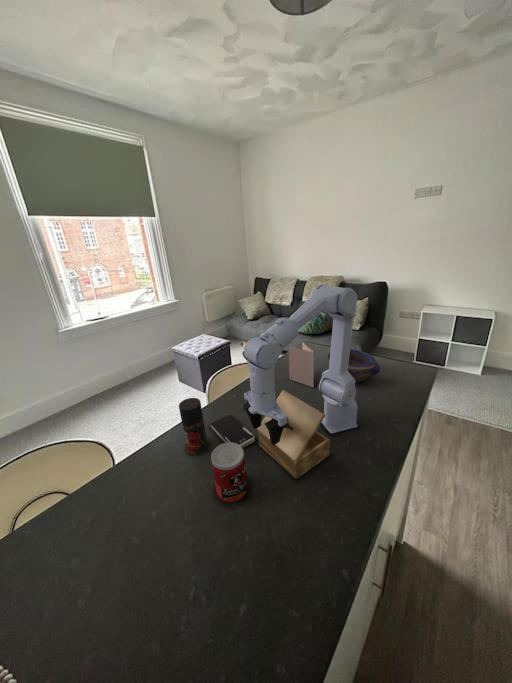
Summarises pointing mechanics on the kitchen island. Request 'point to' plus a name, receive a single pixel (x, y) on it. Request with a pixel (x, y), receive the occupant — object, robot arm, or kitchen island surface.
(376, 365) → the bowl
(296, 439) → the lid
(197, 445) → the deodorant
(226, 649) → the kitchen island surface
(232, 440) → the smartphone
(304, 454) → the compartment
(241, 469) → the canned food
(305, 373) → the greeting card
